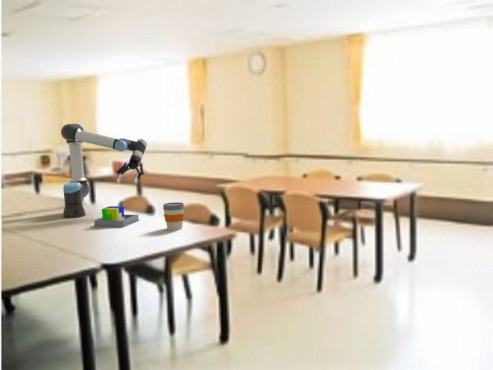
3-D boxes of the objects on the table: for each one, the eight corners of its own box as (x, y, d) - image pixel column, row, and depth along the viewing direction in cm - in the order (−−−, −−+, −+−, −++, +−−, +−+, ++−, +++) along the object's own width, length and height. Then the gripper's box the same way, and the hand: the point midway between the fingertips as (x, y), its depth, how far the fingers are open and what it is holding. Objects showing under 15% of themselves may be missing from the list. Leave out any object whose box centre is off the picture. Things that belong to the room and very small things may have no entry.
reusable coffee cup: (181, 230, 312) (180, 205, 310) (161, 230, 314) (159, 205, 312) (188, 226, 324) (186, 202, 322) (168, 226, 326) (167, 202, 324)
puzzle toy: (124, 221, 342) (123, 206, 341) (117, 224, 332) (116, 209, 331) (110, 221, 344) (109, 206, 343) (102, 224, 335) (101, 209, 333)
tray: (94, 226, 335) (94, 220, 334) (111, 220, 354) (110, 214, 354) (123, 227, 329) (123, 220, 329) (138, 220, 349) (138, 214, 348)
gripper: (153, 161, 374) (144, 185, 362) (122, 161, 382) (112, 185, 370) (149, 154, 368) (140, 179, 356) (118, 154, 376) (108, 178, 364)
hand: (126, 182), depth 363 cm, fingers open, 13 cm apart
